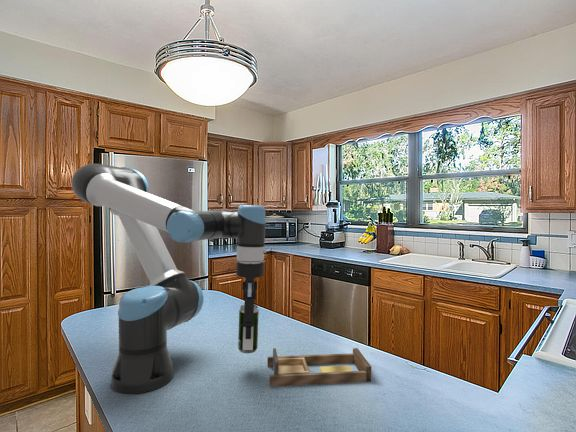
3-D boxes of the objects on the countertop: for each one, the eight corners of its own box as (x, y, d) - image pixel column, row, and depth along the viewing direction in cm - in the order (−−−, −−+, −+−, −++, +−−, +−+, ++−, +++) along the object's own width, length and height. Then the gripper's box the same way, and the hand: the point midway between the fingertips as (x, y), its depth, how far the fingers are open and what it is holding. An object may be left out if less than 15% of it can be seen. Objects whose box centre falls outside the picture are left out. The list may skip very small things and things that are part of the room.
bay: (269, 386, 87) (269, 370, 87) (267, 365, 99) (267, 351, 99) (371, 381, 90) (371, 366, 90) (357, 361, 102) (357, 348, 102)
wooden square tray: (275, 382, 89) (275, 362, 89) (272, 366, 98) (273, 348, 98) (309, 380, 90) (309, 360, 90) (304, 365, 99) (304, 347, 99)
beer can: (243, 355, 91) (244, 310, 91) (234, 348, 95) (236, 305, 95) (260, 351, 94) (262, 307, 94) (251, 344, 98) (253, 302, 98)
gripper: (265, 267, 85) (262, 359, 86) (263, 256, 103) (260, 332, 104) (235, 267, 84) (232, 360, 85) (238, 256, 103) (235, 332, 103)
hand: (247, 344), depth 95 cm, fingers closed on beer can, 5 cm apart
